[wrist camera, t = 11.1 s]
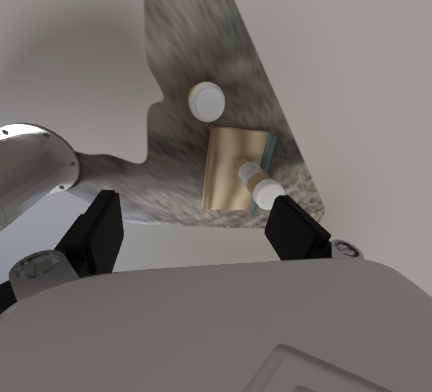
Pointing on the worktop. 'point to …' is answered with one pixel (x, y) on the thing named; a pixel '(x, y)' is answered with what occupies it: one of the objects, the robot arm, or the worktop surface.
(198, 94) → the supplement bottle
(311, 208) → the worktop surface
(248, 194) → the shelf board
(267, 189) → the sprinkles bottle
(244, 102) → the worktop surface
